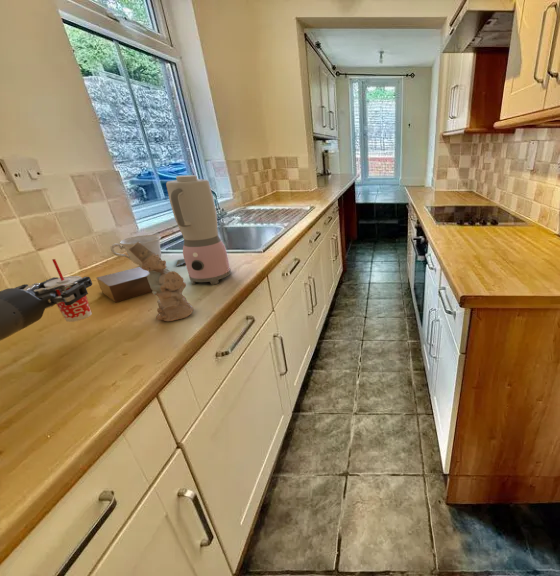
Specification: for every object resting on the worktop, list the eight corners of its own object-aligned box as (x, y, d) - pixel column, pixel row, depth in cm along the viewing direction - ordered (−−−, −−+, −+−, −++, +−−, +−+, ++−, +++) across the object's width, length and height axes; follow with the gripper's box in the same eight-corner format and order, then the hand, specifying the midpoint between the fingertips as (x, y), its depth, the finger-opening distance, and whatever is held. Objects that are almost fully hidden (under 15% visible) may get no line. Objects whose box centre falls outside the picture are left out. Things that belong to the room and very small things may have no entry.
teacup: (117, 267, 115) (107, 240, 110) (165, 258, 124) (157, 233, 120) (120, 276, 106) (110, 248, 102) (171, 266, 116) (163, 239, 111)
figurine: (146, 322, 79) (118, 244, 71) (172, 306, 86) (149, 234, 78) (179, 324, 78) (154, 245, 69) (202, 308, 85) (182, 235, 77)
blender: (202, 271, 110) (177, 174, 97) (237, 271, 111) (217, 174, 97) (176, 290, 96) (143, 179, 83) (217, 289, 96) (190, 179, 83)
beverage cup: (60, 326, 70) (32, 266, 64) (60, 316, 74) (34, 259, 68) (96, 317, 73) (73, 259, 68) (95, 308, 77) (72, 253, 72)
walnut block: (115, 302, 89) (109, 286, 87) (102, 293, 95) (96, 277, 93) (159, 289, 97) (154, 274, 95) (144, 281, 103) (139, 266, 101)
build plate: (176, 266, 115) (172, 254, 113) (178, 261, 121) (174, 249, 119) (214, 261, 120) (211, 249, 118) (214, 255, 126) (211, 244, 124)
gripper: (31, 296, 56) (101, 264, 71) (-58, 299, 55) (32, 266, 70) (49, 332, 59) (112, 294, 74) (-35, 335, 58) (47, 296, 74)
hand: (73, 280), depth 72 cm, fingers closed on beverage cup, 6 cm apart
